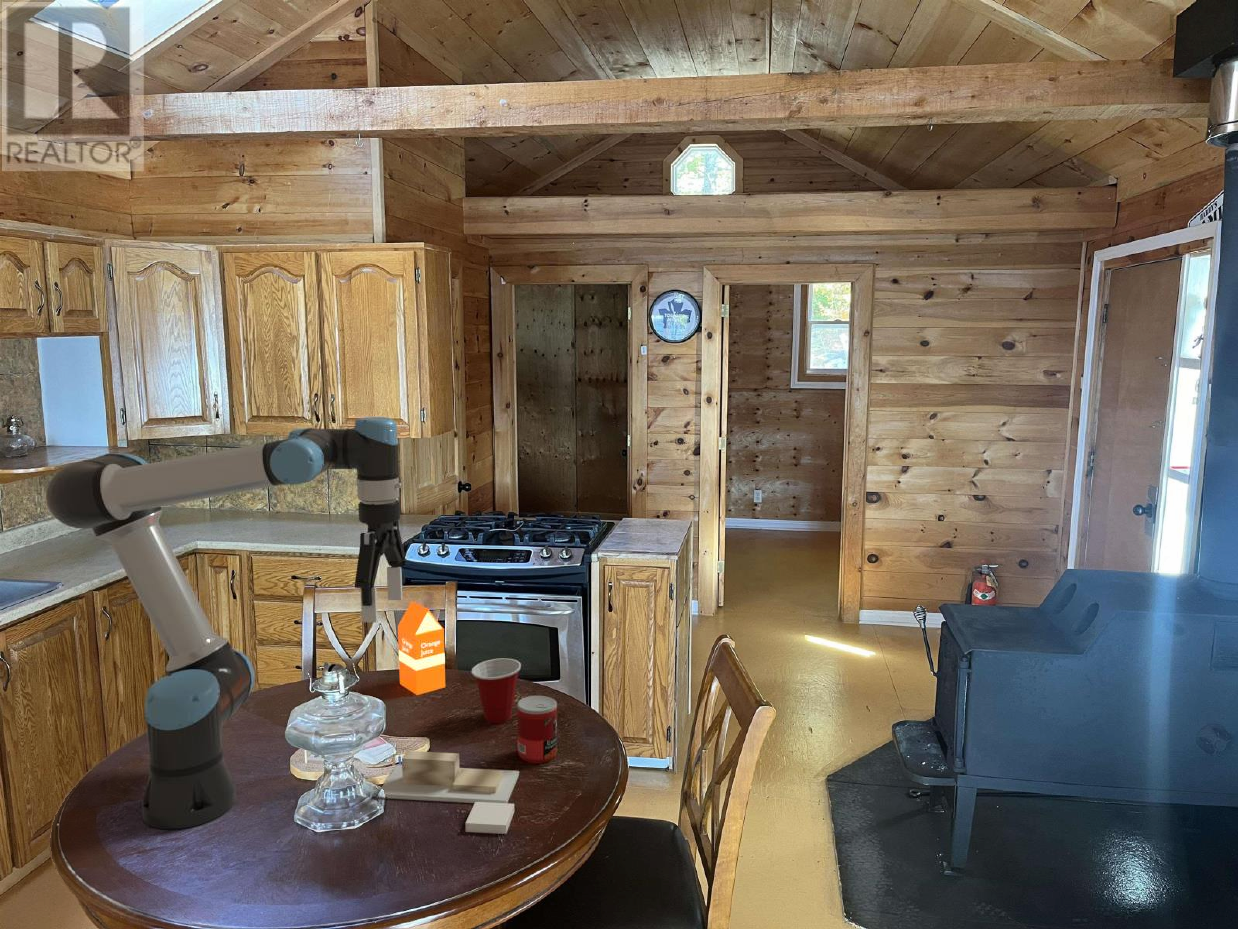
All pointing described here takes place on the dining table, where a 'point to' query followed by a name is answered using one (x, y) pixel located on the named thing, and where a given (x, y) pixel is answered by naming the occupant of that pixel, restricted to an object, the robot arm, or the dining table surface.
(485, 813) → the tile
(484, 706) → the plastic cup
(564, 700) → the dining table surface
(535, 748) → the canned food
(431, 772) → the stepped wooden block
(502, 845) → the dining table surface
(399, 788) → the mat
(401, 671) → the orange juice
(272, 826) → the dining table surface
